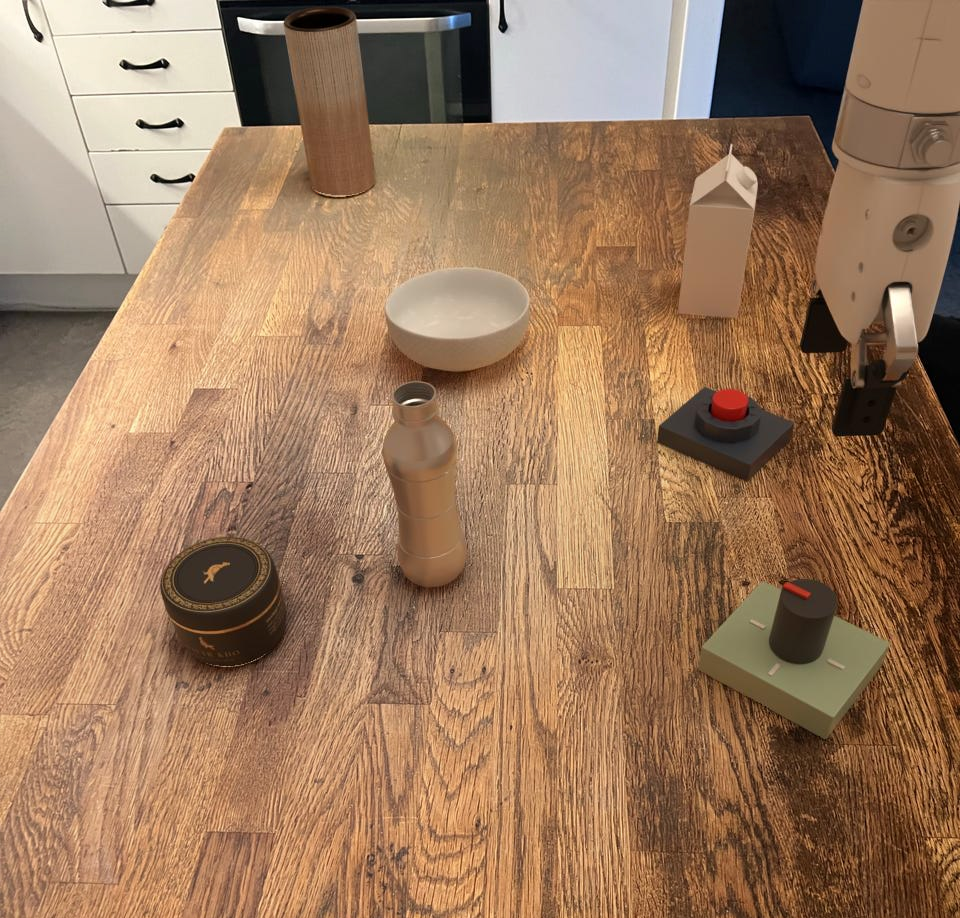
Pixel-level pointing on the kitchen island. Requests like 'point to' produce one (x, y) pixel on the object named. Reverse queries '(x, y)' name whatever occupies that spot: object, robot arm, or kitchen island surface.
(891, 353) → the robot arm
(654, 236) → the kitchen island surface
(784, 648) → the knob
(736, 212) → the milk carton
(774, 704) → the panel
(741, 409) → the button
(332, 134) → the planter
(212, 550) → the jar
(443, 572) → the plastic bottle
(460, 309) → the cereal bowl
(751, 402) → the button block
